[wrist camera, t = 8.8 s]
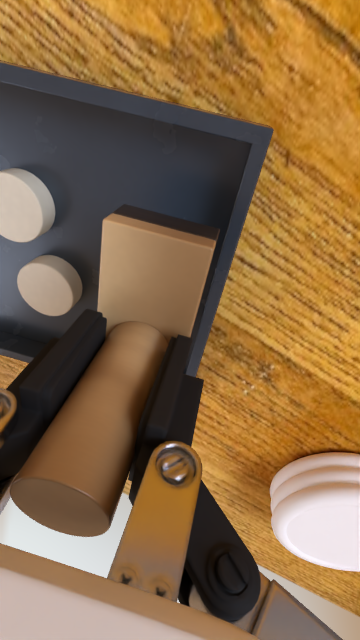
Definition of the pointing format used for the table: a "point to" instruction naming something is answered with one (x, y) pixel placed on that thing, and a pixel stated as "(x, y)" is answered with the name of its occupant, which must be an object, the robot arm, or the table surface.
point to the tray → (117, 185)
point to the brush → (117, 369)
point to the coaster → (319, 509)
